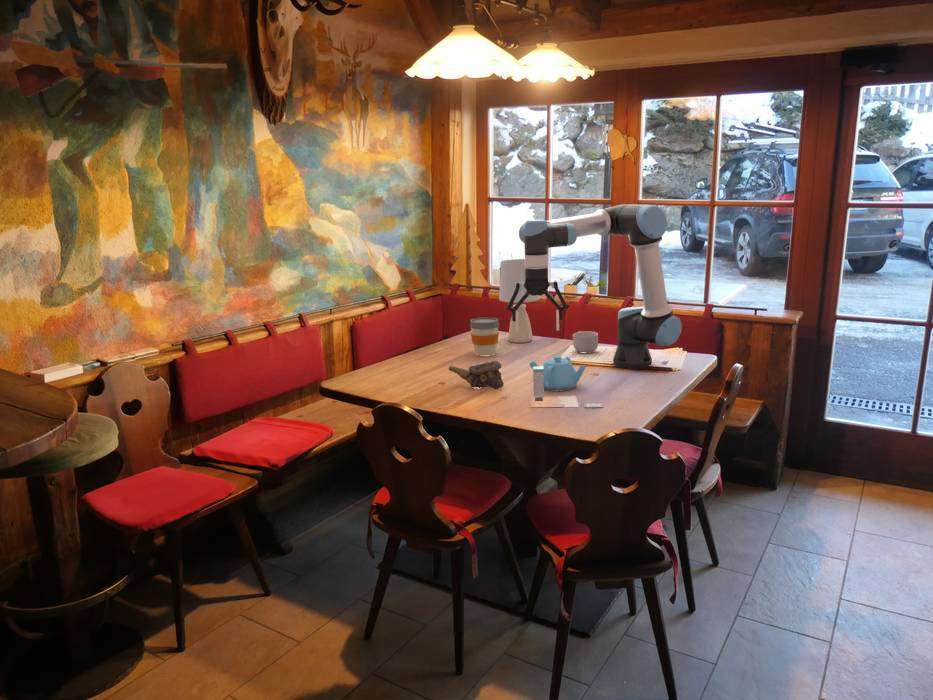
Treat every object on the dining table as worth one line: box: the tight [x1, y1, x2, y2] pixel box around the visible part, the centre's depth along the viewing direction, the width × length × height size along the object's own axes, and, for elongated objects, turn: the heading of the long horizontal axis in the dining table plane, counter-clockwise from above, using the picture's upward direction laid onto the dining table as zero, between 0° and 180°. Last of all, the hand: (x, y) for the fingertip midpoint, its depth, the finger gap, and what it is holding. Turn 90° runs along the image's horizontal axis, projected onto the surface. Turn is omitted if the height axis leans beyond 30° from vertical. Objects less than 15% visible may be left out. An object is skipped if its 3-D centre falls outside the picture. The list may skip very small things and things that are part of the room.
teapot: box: [529, 355, 587, 392], centre depth 277 cm, size 15×17×11 cm
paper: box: [558, 395, 579, 408], centre depth 259 cm, size 16×12×1 cm
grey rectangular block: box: [532, 365, 545, 401], centre depth 260 cm, size 4×4×12 cm
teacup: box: [572, 330, 599, 353], centre depth 328 cm, size 14×11×8 cm
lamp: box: [498, 258, 541, 344], centre depth 350 cm, size 19×19×37 cm
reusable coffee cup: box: [469, 317, 500, 356], centre depth 329 cm, size 13×13×15 cm
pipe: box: [448, 360, 504, 390], centre depth 280 cm, size 9×22×10 cm, turn 73°
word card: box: [583, 402, 604, 409], centre depth 253 cm, size 6×4×1 cm, turn 86°
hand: (537, 330), depth 256 cm, fingers open, 13 cm apart
